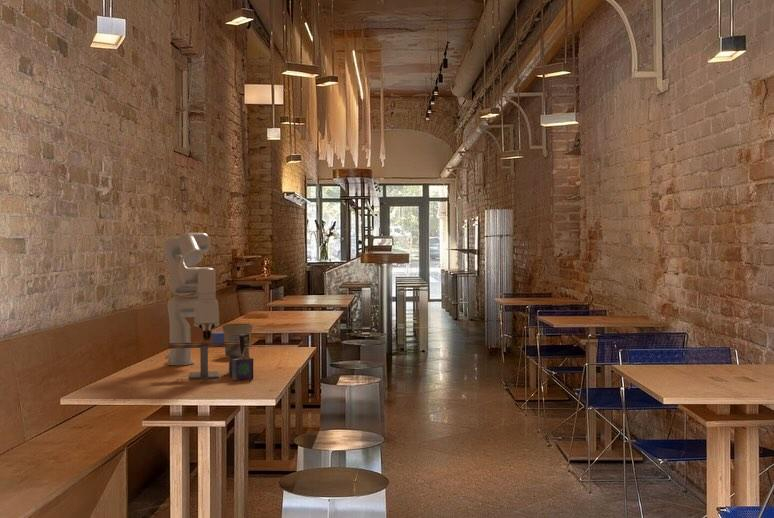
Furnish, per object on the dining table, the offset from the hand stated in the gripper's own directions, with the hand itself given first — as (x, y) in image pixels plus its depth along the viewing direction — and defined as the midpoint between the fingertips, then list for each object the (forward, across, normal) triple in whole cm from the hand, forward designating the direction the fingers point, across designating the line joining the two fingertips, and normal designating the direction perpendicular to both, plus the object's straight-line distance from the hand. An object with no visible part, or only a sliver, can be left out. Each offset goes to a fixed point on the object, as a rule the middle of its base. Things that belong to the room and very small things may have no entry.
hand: (206, 339), depth 358 cm
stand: (+16, +2, 0) cm, 16 cm away
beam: (+7, -1, 0) cm, 7 cm away
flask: (+16, +14, -12) cm, 25 cm away
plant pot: (+15, +16, +63) cm, 66 cm away
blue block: (+2, +5, 0) cm, 5 cm away
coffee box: (+16, +14, +14) cm, 26 cm away
